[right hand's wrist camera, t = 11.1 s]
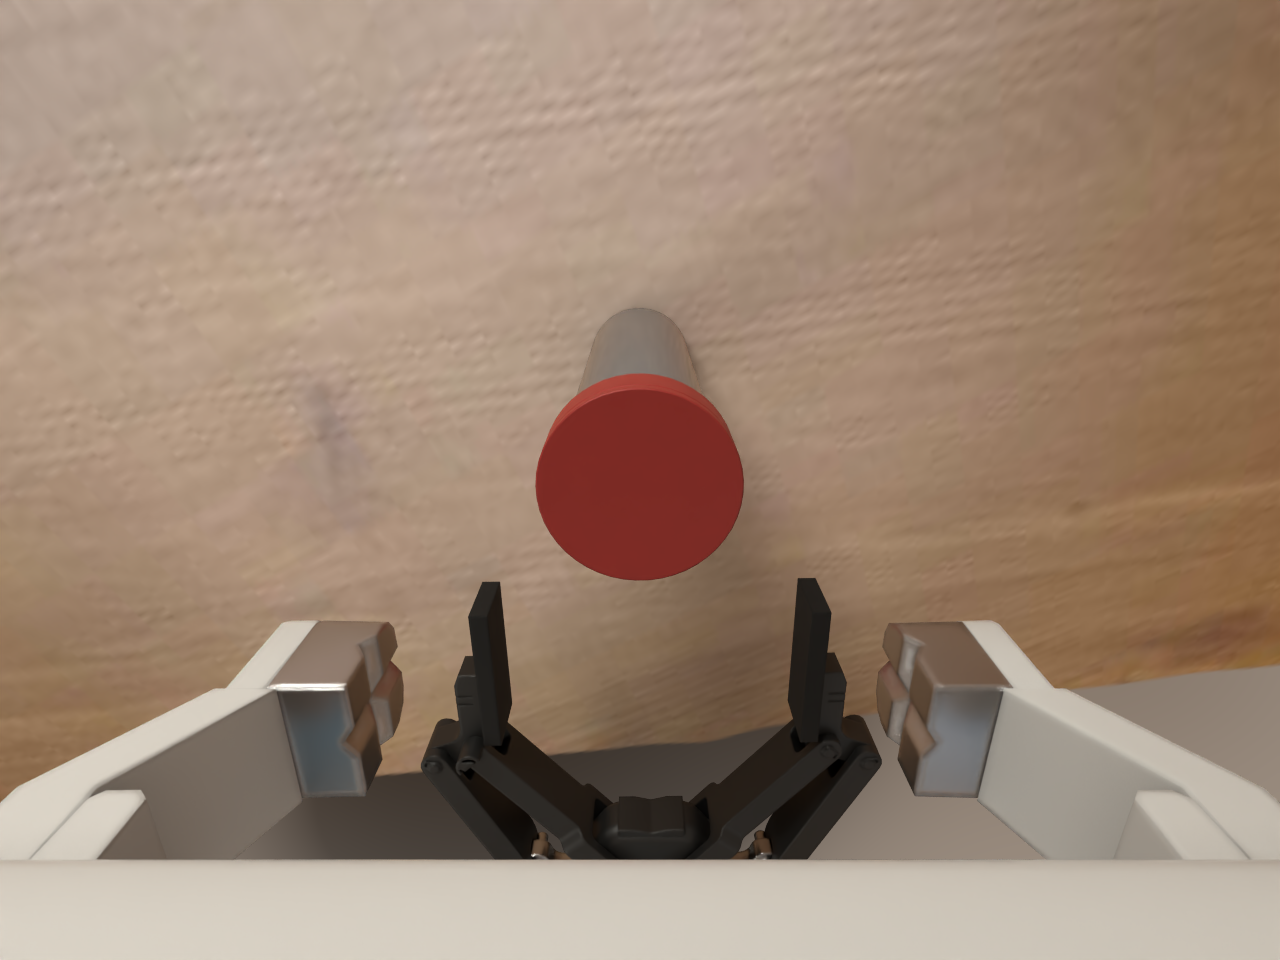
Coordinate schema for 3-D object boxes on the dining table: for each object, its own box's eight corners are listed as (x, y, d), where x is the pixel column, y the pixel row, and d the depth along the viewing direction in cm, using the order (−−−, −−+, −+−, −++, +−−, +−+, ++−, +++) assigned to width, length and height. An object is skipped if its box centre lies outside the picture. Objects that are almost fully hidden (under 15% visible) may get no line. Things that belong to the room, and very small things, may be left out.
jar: (577, 379, 31) (527, 521, 17) (615, 291, 30) (594, 369, 16) (662, 417, 32) (679, 583, 18) (703, 333, 31) (756, 442, 17)
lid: (515, 509, 19) (504, 535, 17) (589, 339, 17) (584, 352, 15) (683, 578, 19) (687, 608, 18) (770, 421, 18) (781, 441, 16)
